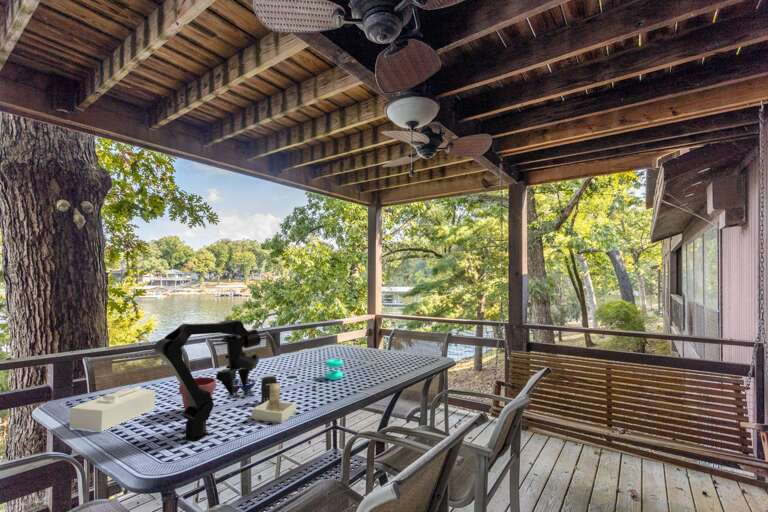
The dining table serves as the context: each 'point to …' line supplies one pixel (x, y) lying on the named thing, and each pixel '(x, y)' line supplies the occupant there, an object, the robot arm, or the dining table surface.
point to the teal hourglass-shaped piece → (334, 374)
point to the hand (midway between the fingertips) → (238, 390)
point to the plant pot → (203, 383)
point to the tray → (274, 412)
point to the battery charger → (266, 387)
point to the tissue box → (112, 409)
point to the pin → (274, 397)
